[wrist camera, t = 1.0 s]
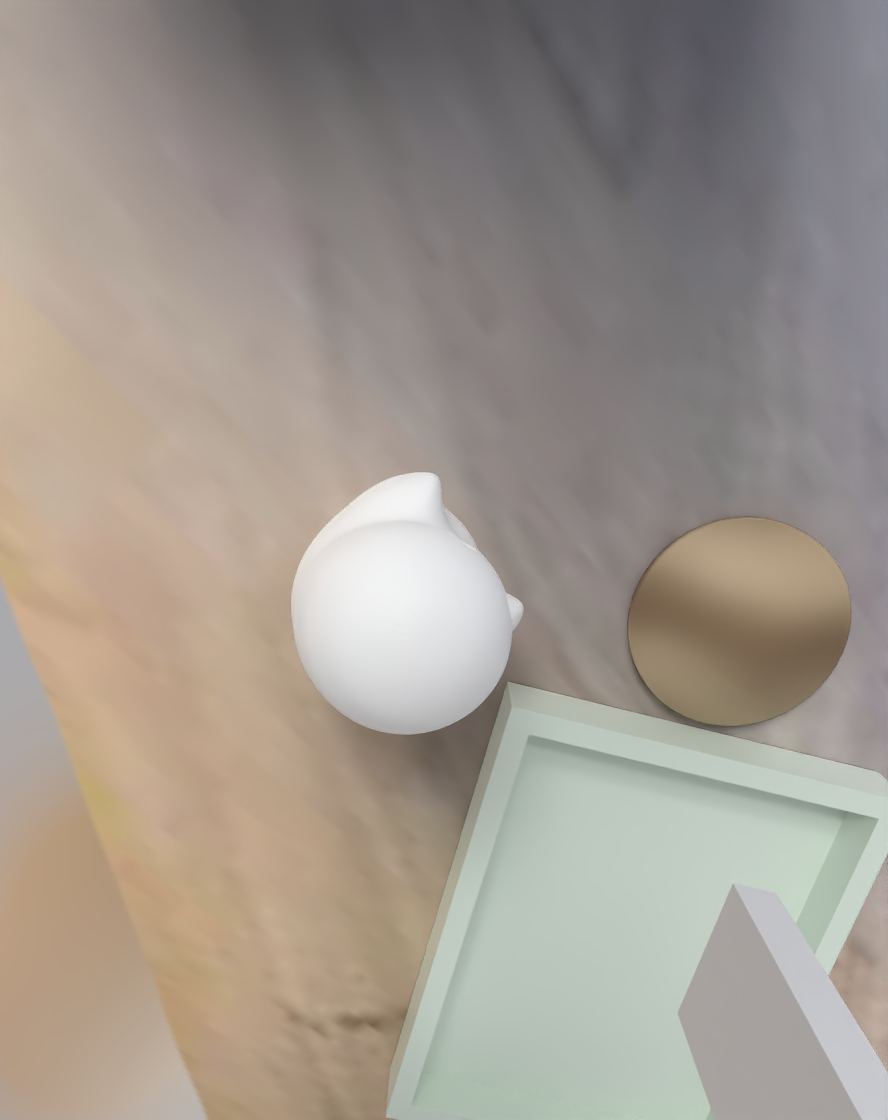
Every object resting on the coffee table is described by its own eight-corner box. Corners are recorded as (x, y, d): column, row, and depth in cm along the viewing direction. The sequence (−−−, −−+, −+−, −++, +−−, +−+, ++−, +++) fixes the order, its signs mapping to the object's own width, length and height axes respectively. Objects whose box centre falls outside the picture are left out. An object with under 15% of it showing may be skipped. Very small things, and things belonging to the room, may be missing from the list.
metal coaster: (633, 517, 29) (636, 520, 28) (858, 516, 29) (865, 518, 28) (621, 720, 31) (624, 726, 31) (830, 720, 31) (836, 725, 30)
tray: (507, 681, 31) (511, 706, 28) (877, 772, 32) (911, 803, 29) (389, 1069, 36) (385, 1117, 34) (708, 1137, 37) (725, 1188, 35)
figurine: (529, 584, 30) (578, 719, 18) (378, 676, 31) (332, 859, 19) (434, 439, 28) (420, 484, 17) (280, 541, 29) (165, 652, 18)
